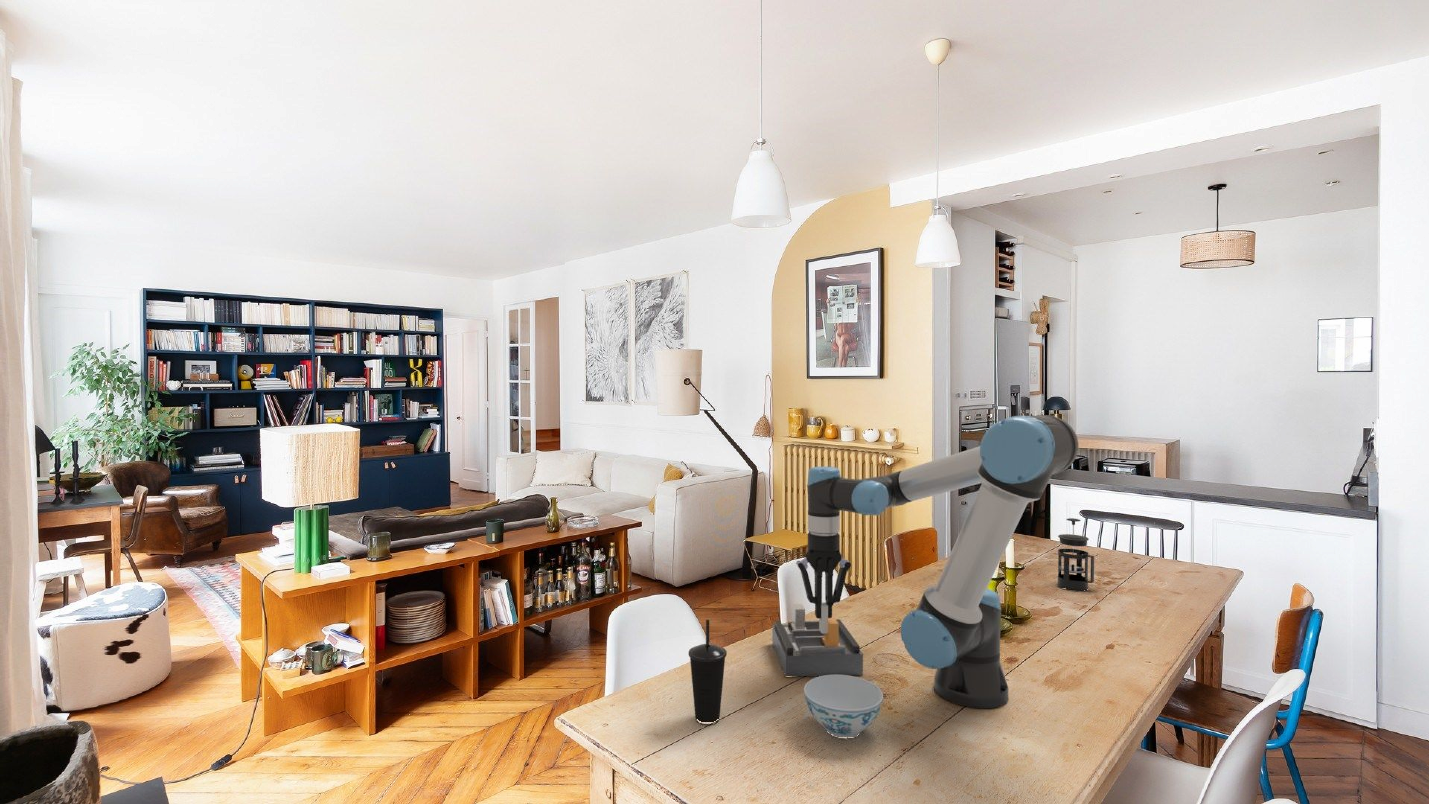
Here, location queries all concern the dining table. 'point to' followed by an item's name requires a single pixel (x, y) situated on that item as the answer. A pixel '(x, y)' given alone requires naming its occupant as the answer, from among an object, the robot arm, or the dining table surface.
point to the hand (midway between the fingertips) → (823, 631)
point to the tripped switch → (832, 633)
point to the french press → (1073, 580)
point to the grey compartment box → (814, 648)
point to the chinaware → (843, 703)
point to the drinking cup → (707, 678)
